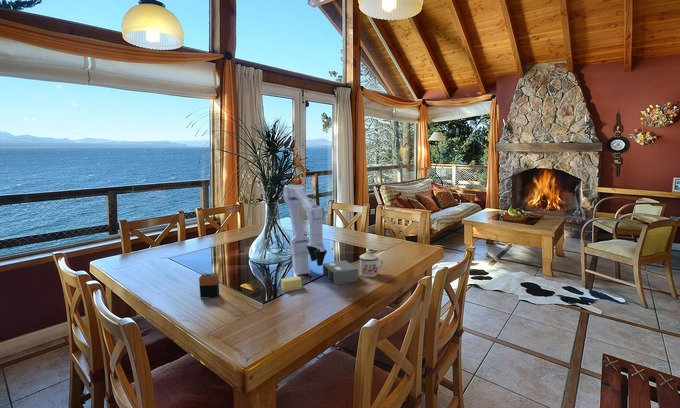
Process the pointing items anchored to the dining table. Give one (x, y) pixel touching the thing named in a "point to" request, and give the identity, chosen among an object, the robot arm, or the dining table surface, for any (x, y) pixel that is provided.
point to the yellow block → (291, 283)
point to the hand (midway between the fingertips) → (316, 263)
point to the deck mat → (290, 291)
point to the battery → (209, 285)
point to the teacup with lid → (369, 264)
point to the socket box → (340, 272)
